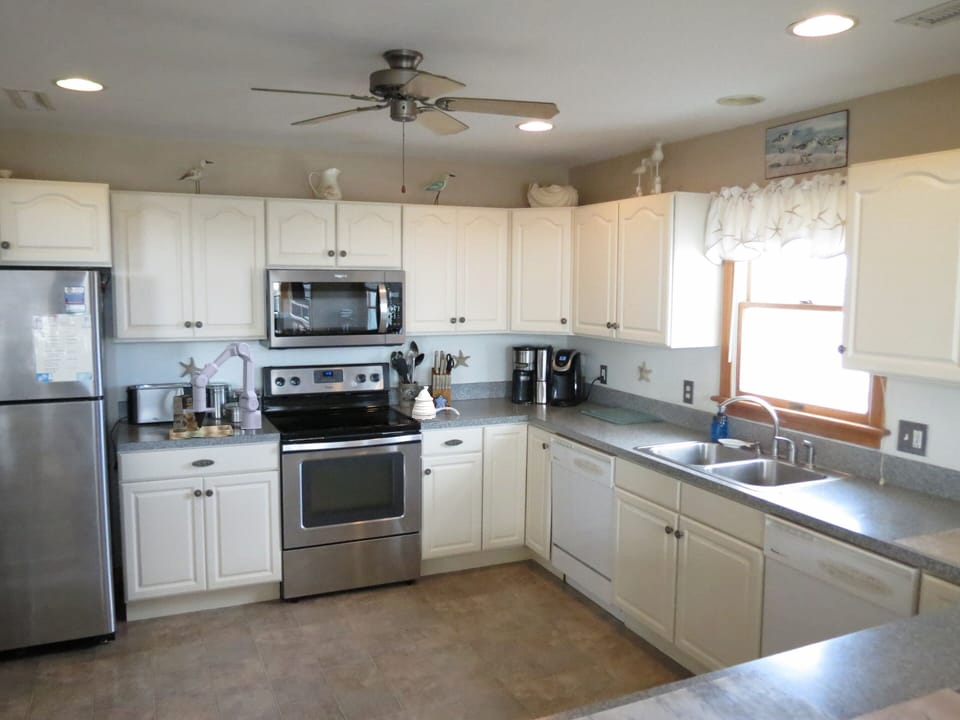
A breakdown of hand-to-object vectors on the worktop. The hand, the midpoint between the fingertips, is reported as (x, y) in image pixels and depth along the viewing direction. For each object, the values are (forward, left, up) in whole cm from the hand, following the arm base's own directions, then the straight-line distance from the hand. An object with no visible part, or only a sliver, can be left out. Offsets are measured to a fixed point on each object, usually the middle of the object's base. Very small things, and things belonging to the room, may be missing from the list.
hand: (200, 427), depth 353 cm
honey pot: (-114, -4, -4) cm, 115 cm away
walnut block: (+4, 0, -1) cm, 4 cm away
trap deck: (0, 0, -3) cm, 3 cm away
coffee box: (+7, -21, -4) cm, 22 cm away
